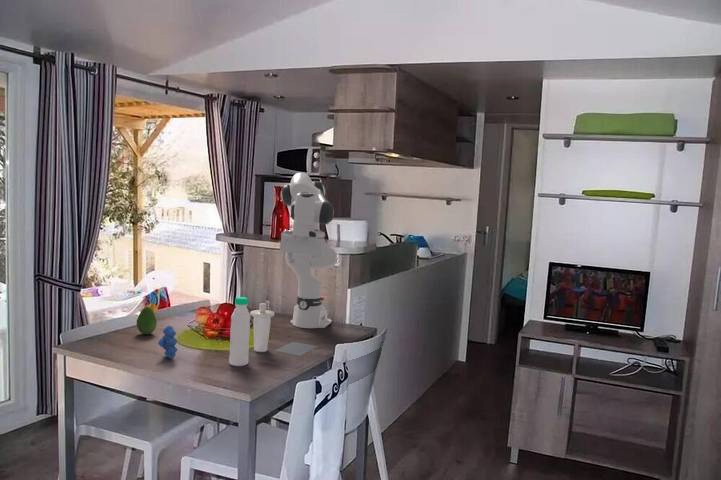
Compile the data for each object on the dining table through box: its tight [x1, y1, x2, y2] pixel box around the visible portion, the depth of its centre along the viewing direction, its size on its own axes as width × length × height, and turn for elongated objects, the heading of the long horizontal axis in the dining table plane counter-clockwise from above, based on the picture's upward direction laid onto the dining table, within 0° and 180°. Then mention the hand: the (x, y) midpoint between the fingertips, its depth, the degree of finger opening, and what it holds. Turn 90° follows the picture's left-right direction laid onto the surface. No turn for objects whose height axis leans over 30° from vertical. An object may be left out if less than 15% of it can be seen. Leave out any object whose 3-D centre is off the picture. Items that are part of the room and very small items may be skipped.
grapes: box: [157, 324, 178, 360], centre depth 205 cm, size 12×7×12 cm, turn 35°
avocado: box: [136, 306, 157, 336], centre depth 235 cm, size 8×8×12 cm
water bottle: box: [228, 296, 252, 367], centre depth 203 cm, size 7×7×25 cm
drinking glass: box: [252, 317, 272, 353], centre depth 221 cm, size 7×7×15 cm
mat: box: [273, 341, 318, 357], centre depth 227 cm, size 16×12×1 cm
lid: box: [249, 302, 275, 318], centre depth 220 cm, size 10×10×4 cm
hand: (301, 264), depth 228 cm, fingers open, 8 cm apart
